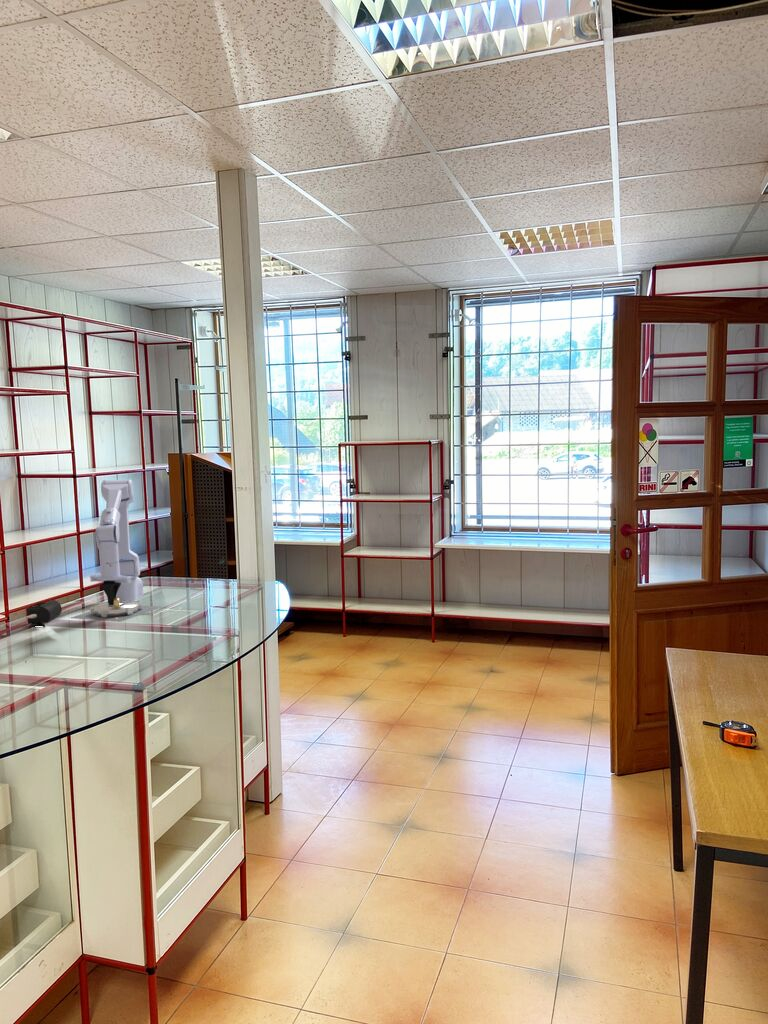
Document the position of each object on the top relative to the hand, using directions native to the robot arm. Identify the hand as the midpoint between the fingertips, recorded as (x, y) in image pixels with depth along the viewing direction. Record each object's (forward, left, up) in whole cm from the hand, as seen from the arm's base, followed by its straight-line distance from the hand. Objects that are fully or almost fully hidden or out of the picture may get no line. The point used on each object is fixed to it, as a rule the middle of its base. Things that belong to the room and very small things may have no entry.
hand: (112, 604), depth 231 cm
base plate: (-4, -2, -5) cm, 7 cm away
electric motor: (+9, -19, -6) cm, 22 cm away
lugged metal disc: (-4, -2, -4) cm, 6 cm away
